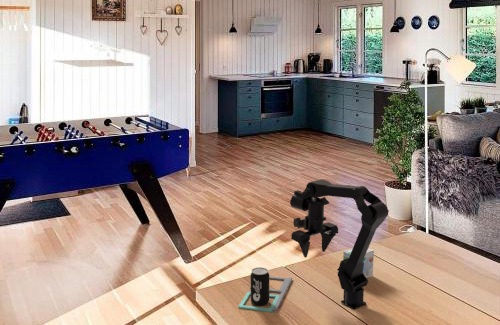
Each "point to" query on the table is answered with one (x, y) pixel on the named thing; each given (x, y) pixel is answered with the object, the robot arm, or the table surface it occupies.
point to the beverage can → (259, 286)
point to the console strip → (282, 295)
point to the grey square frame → (281, 285)
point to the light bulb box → (364, 261)
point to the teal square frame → (258, 307)
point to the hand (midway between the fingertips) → (314, 254)
